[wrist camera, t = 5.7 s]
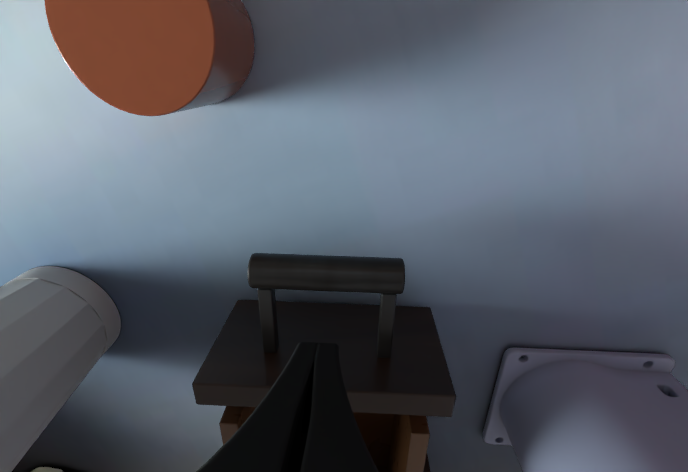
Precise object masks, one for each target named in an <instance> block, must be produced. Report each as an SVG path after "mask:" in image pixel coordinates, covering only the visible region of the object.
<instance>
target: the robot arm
mask: <svg viewBox="0 0 688 472" xmlns="http://www.w3.org/2000/svg"><path fill="white" fill-rule="evenodd" d="M523 355H525V356H523ZM521 356H523V357H521ZM674 365H675V360H674V359H673V358H672V357H670V356H669V355H667V354H650V353H628V352H605V351H582V350H559V349H536V348H509V349H507V350H506V351H505V352H504V355H503V359H502V362H501V366H500V370H499V374H498V377H497V381H496V385H495V389H494V392H493V396H492V400H491V404H490V408H489V411H488V415H487V419H486V423H485V426H484V430H483V434H482V436H483V439H484V441H485V442H486V443H487V444H497V445H512V446H513V449H514V451H515V454H516V456H517V459H518V461H519V464H520V466H521V469H522V471H523V472H688V390H687V389H686V388H685V387H684V386H683V385H682V384H681V383H680V382H679V381H678V380H677V379H676V378H675V377H674V376H673V375H672V374H671V371H672V369H673V367H674ZM197 472H379V471H378V469H377V468H376V466H375V464H374V462H373V460H372V457H371V455H370V453H369V451H368V449H367V447H366V444H365V442H364V440H363V437H362V435H361V433H360V430H359V428H358V425H357V422H356V420H355V417H354V414H353V411H352V408H351V405H350V402H349V399H348V396H347V392H346V389H345V385H344V381H343V377H342V372H341V367H340V360H339V346H338V345H337V344H336V343H316V342H300V343H298V344H297V346H296V348H295V350H294V352H293V354H292V356H291V358H290V359H289V361H288V363H287V364H286V366H285V368H284V369H283V371H282V372H281V374H280V375H279V377H278V378H277V380H276V381H275V383H274V384H273V386H272V387H271V389H270V390H269V392H268V393H267V394H266V396H265V397H264V398H263V399H262V401H261V402H260V403H259V405H258V406H257V407H256V409H255V410H254V411H253V413H252V414H251V415H250V416H249V417H248V419H247V420H246V421H245V422H244V423H243V425H242V426H241V427H240V428H239V429H238V430H237V431H236V432H235V434H234V435H233V436H232V437H231V438H230V439H229V440H228V441H227V442H226V443H225V444H224V445H223V446H222V447H221V448H220V449H219V450H218V451H217V452H216V454H215V455H214V456H213V457H212V458H210V459H209V460H208V461H207V462H206V463H205V464H204V465H203V466H202V467H201V468H200V469H199V470H198V471H197Z"/></svg>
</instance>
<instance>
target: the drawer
mask: <svg viewBox="0 0 688 472" xmlns="http://www.w3.org/2000/svg"><path fill="white" fill-rule="evenodd" d="M248 282H249V286H250V287H251V288H258V290H257V292H258V300H237V302H236V304H235V306H234V307H233V309H232V311H231V313H230V315H229V317H228V319H227V320H226V322H225V324H224V326H223V328H222V330H221V331H220V333H219V335H218V337H217V339H216V341H215V342H214V344H213V346H212V348H211V350H210V352H209V353H208V355H207V357H206V359H205V361H204V363H203V365H202V366H201V368H200V370H199V372H198V374H197V376H196V377H195V379H194V381H193V383H192V385H193V390H194V395H195V399H196V403H197V404H200V405H220V406H226V408H225V411H224V413H223V416H222V418H221V421H220V423H219V424H220V429H221V435H222V440H223V445H224V444H225V443H226V442H227V441H228V440H229V439H230V438H231V437H232V436H233V435H234V434H235V432H236V431H237V430H238V429H239V428H240V427H241V426H242V425H243V423H244V422H245V421H246V420H247V419H248V417H249V416H250V415H251V414H252V413H253V411H254V410H255V409H256V407H257V406H258V405H259V403H260V402H261V401H262V399H263V398H264V397H265V396H266V394H267V393H268V392H269V390H270V389H271V387H272V386H273V384H274V383H275V381H276V380H277V378H278V377H279V375H280V374H281V372H282V371H283V369H284V368H285V366H286V364H287V363H288V361H289V359H290V358H291V356H292V354H293V352H294V350H295V348H296V346H297V344H298V343H300V342H316V343H336V344H337V345H338V346H339V360H340V367H341V372H342V377H343V381H344V385H345V389H346V392H347V396H348V399H349V402H350V405H351V408H352V411H353V414H354V417H355V420H356V422H357V425H358V428H359V430H360V433H361V435H362V437H363V440H364V442H365V444H366V447H367V449H368V451H369V453H370V455H371V457H372V460H373V462H374V464H375V466H376V468H377V469H378V471H379V472H423V470H424V465H425V459H426V453H427V447H428V442H429V436H430V433H429V428H428V422H427V417H426V416H438V417H452V414H453V409H454V405H455V400H456V394H455V391H454V387H453V384H452V380H451V377H450V373H449V370H448V367H447V363H446V360H445V356H444V353H443V349H442V346H441V343H440V339H439V336H438V332H437V329H436V325H435V322H434V319H433V315H432V312H431V308H430V307H412V306H396V297H397V295H396V294H401V293H403V290H404V284H405V265H404V261H403V259H401V258H379V257H351V256H323V255H296V254H268V253H254V254H252V255H251V257H250V260H249V264H248ZM275 289H287V290H312V291H338V292H363V293H381V295H380V305H362V304H338V303H313V302H288V301H276V298H275Z"/></svg>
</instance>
